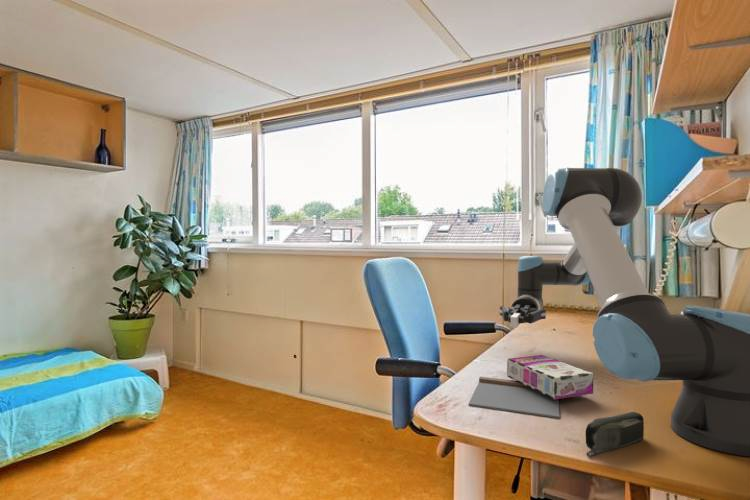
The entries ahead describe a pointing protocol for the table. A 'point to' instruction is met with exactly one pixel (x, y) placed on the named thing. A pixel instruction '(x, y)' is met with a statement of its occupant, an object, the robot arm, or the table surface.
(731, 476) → the table surface
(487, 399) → the mat
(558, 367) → the candy bar box
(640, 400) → the table surface
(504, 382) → the strip
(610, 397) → the table surface
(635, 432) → the mobile phone
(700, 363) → the robot arm
